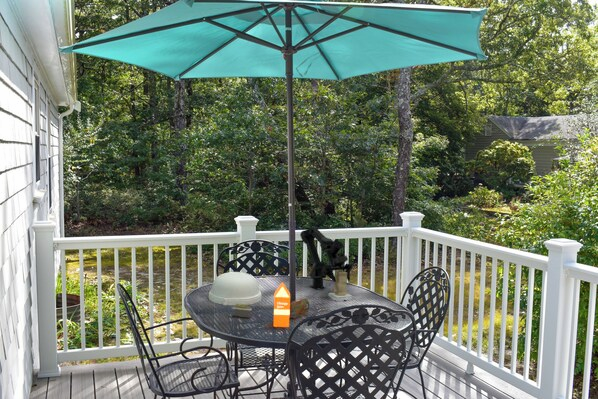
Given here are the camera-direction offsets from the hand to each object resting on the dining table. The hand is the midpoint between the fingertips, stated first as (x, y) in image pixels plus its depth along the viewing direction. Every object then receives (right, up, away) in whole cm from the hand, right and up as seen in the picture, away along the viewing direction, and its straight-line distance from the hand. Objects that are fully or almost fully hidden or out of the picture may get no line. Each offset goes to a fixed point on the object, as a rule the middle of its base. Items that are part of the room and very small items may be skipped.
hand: (342, 281), depth 324 cm
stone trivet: (-1, -11, +2) cm, 11 cm away
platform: (-54, -13, -38) cm, 67 cm away
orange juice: (-34, -14, -47) cm, 60 cm away
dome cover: (-61, -9, -4) cm, 62 cm away
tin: (-25, -13, -34) cm, 44 cm away
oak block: (-1, -8, +2) cm, 8 cm away
